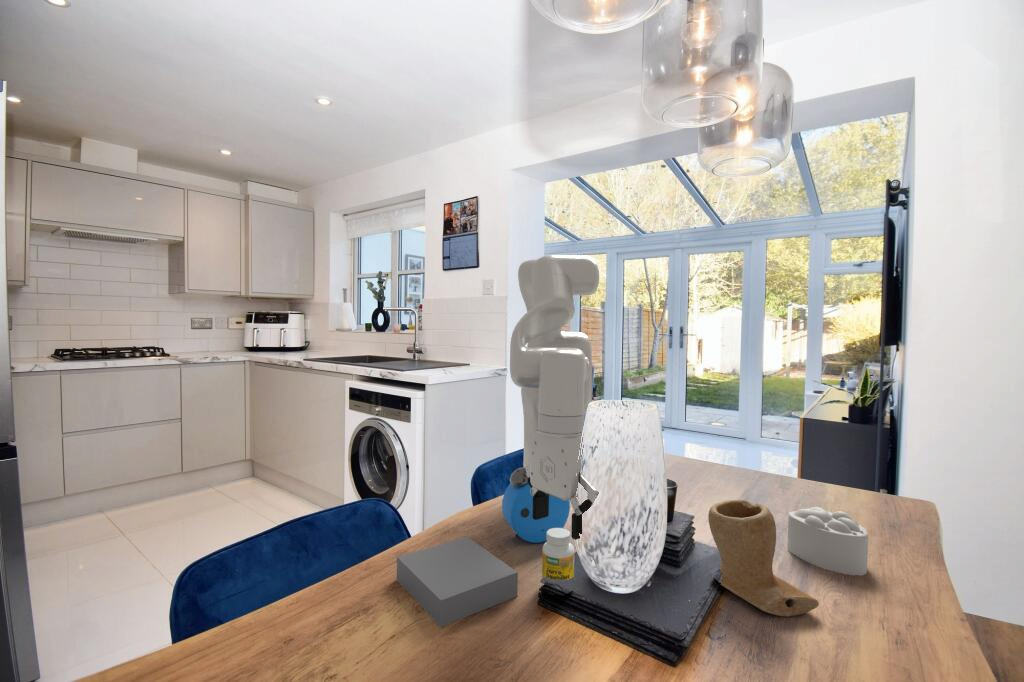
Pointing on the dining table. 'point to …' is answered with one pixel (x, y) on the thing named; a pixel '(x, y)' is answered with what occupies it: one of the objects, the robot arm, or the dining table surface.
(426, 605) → the riser block
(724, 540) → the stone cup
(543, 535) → the alarm clock
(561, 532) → the supplement bottle
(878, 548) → the dining table surface
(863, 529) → the lumpy-topped squat cylinder
